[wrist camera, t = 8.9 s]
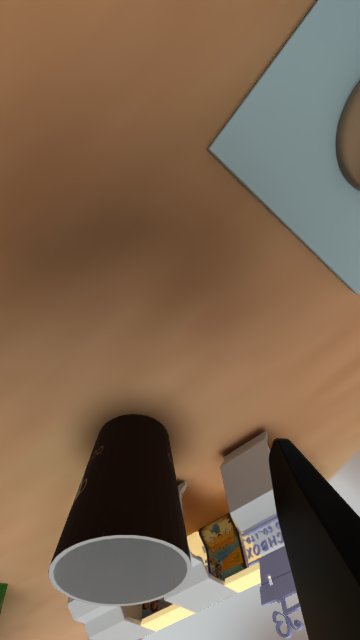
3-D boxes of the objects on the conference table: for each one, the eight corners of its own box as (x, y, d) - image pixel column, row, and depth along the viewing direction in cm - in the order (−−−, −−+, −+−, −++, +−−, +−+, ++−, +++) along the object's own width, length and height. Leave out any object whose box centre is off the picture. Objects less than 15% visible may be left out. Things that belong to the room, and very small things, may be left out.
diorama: (259, 422, 27) (333, 609, 16) (313, 472, 31) (404, 650, 20) (81, 535, 34) (41, 727, 22) (144, 565, 38) (138, 740, 26)
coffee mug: (121, 388, 24) (99, 517, 15) (200, 432, 27) (220, 561, 18) (50, 466, 28) (0, 606, 19) (126, 497, 31) (114, 631, 22)
